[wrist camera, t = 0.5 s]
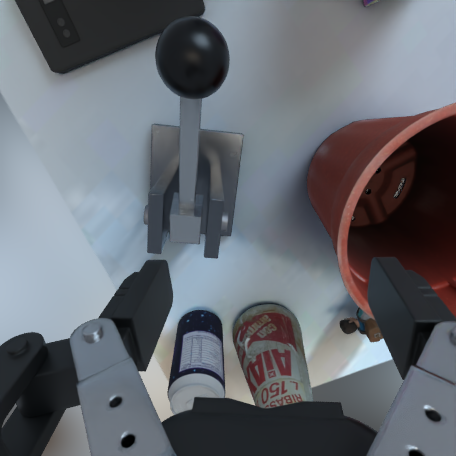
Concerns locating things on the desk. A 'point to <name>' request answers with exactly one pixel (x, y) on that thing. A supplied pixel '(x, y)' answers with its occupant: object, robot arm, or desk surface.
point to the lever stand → (206, 185)
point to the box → (369, 2)
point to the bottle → (272, 356)
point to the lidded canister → (197, 361)
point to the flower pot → (390, 198)
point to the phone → (97, 26)
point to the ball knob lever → (190, 107)
